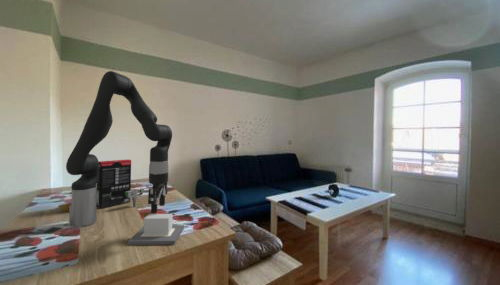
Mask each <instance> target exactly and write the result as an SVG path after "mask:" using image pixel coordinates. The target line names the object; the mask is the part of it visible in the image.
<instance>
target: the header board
mask: <svg viewBox="0 0 500 285" xmlns="http://www.w3.org/2000/svg"><path fill="white" fill-rule="evenodd" d="M184 229H185V224H179V225H177V224H174V225H173V224H172V231H171V232H170V233H169V235H144V225H143V226H142V227H141V228H140V229H139V230H138V231H137V232H136V233H135V234H133V236H132V237H131V238H130V239H129V240H128V241H127V245H128V246H138V245H139V246H143V245H144V246H145V245H146V246H148V245H149V246H152V245H153V246H154V245H155V246H157V245H168V246H169V245H176V243H177V241H178V240H179V238H180V236H181V234H182V233H183V231H184Z"/></svg>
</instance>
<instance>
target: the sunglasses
mask: <svg viewBox="0 0 500 285" xmlns="http://www.w3.org/2000/svg"><path fill="white" fill-rule="evenodd" d="M70 205H72V202H68V203H63V204H59V205H58V206H57V208H58V212H59V213H69V206H70Z"/></svg>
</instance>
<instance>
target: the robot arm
mask: <svg viewBox="0 0 500 285" xmlns="http://www.w3.org/2000/svg"><path fill="white" fill-rule="evenodd" d="M100 80H101V81H100V83H99V85H98V86H99V87H98V90H97V92H96V93H97V94H96V97H95V100H94V103H93V106H92V108H91V110H90V112H89V115H88V116H87V119H86V122H85V124H84V126H83V129H82V132H81V134H80V136H79V139H78V141H77V143H76V144H75V146H74V148H73V150H72V151H71V153H70V154H69V156H68V158H67V160H66V162H65V163H66V165H65V167H66V168H65V171H67V173H68V174H69V175H71V176H80V175H81V176H80V177H79V178H78V179H77V180H75V181H73V182H72V183H71V203H72V205H70V206H69V212H68V214H69V221H68V222H69V226H70V227H73V228H81V227H87V226H90V225H93V224H94V223H96V222H97V206H96V189H97V181H98V172H99V159H98V157H97V156H96V155H95V154H92V153H91V152H92V151H93V149H94V148H95V147H96V146H97V145H98V144H99V143H101V142H102V141H103V140H104V139H105V138H106V137H107V135H108V134H109V132H110V129H111V127H112V126H113V121H114V120H113V116H112V110H111V102H112V100H113V96H114V95H117V96H122V97H124V99H126V100H127V101H128V102H129V104H130V110H131V113H132V115H133V117H135V118H136V120H137V121H138V123H140V125H141V128H142V130H143V132H144V135H145V136H146V138H147V139H148V140H149V141H152V142H157V143H156V145H155V146H153V147H151V148H150V150H149V166H148V167H149V168H148V184H151V185H152V188H148V193H147V194H148V199H147V204H148V205H150V214H158V204H159V206H161V207H164V206H165V205H166V196H167V195H168V182H169V150H170V146H171V142H172V138H173V131H172V129H171V127H170V126H169V125H166V124H159V123H158V124H157V121H158V117H157V115H156V114H155V113H154V112H153V110H152V109H151V108H150V107H149V105H147V103H146V102H145V100H144V99H143V98H142V96H141V95H140V93H139V91H138V88H136V87H137V86H135V83H134V82H133V81H132V80H131V78H129V76H128V77H127V76H126V75H123V74H120V73H119V72H115V71H113V70H109V71H107V72H105V73H104V74H103V76H102V78H101V79H100ZM90 153H91V154H90ZM158 201H159V203H158Z"/></svg>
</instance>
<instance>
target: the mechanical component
mask: <svg viewBox="0 0 500 285" xmlns="http://www.w3.org/2000/svg"><path fill="white" fill-rule="evenodd" d="M143 194H144V188H140V189H139V191H138V189H131V190H130V191H126V192H125V195H126V197H128V198H130V199H131V200H132V207H133V208H136V207H137V200H138V197H140V196H142V195H143Z"/></svg>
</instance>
